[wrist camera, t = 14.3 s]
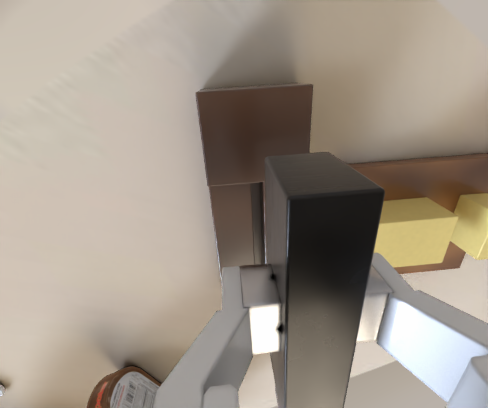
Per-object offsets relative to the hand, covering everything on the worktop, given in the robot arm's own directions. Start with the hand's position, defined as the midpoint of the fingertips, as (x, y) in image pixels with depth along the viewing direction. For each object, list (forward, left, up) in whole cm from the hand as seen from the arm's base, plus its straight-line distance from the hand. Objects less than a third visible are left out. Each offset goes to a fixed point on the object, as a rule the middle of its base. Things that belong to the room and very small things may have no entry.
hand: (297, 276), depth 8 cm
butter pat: (+7, +19, -13) cm, 24 cm away
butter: (+7, +12, -13) cm, 19 cm away
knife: (+5, 0, -4) cm, 6 cm away
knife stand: (+4, 0, -14) cm, 15 cm away
